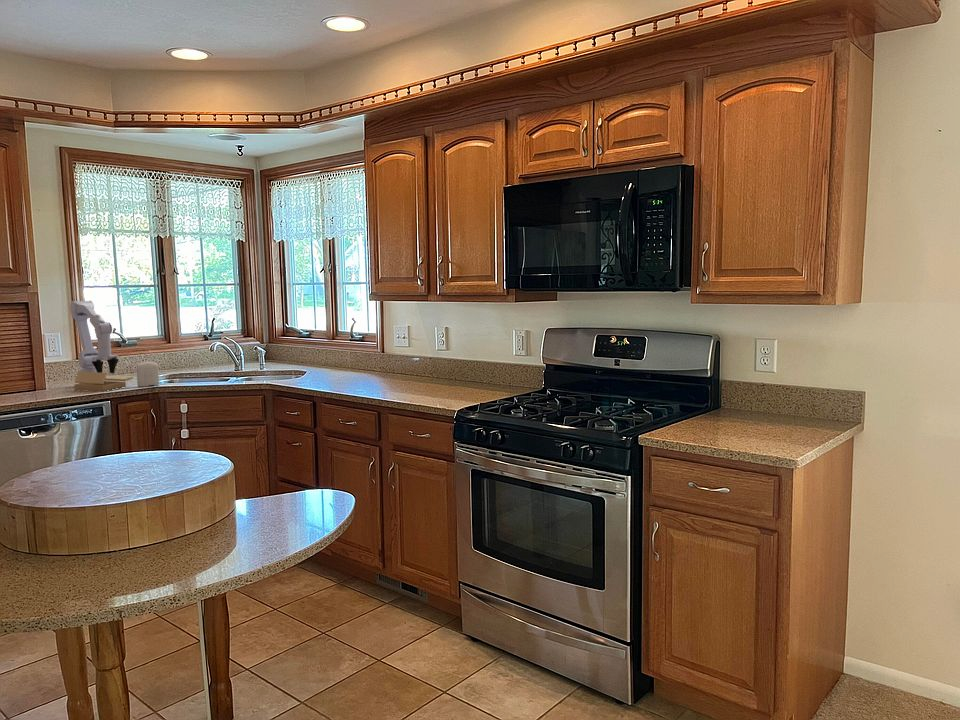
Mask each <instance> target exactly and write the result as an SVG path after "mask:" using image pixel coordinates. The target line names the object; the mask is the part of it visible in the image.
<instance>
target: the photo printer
mask: <svg viewBox="0 0 960 720" xmlns="http://www.w3.org/2000/svg"><path fill="white" fill-rule="evenodd" d="M136 365H137V366H136V373H137V374H136V379H137V380H136V381H137V387H138V386H143V387H148V386H147V385H158V384H159V385H160V373H159V371H160V370H159V364H158V363H157V362H154V361H146V362H145V361H144V362H140V363H137V364H136Z"/></svg>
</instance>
